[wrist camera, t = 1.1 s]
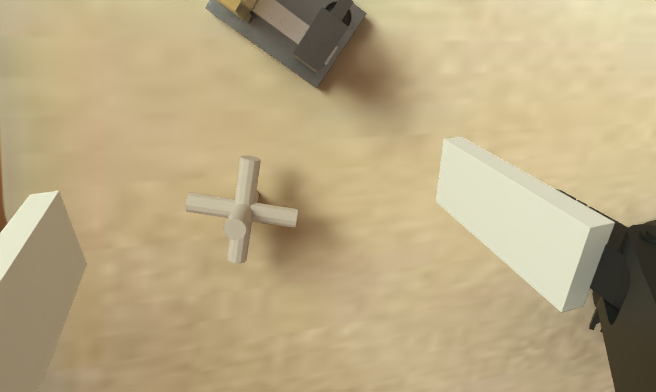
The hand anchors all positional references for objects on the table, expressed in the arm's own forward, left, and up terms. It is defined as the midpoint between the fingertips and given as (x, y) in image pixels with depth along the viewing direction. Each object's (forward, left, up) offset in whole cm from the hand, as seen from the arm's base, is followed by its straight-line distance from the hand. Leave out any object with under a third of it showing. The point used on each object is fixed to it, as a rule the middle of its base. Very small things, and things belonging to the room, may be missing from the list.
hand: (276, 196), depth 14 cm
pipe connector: (0, +9, -27) cm, 29 cm away
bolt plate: (+6, -8, -27) cm, 29 cm away
